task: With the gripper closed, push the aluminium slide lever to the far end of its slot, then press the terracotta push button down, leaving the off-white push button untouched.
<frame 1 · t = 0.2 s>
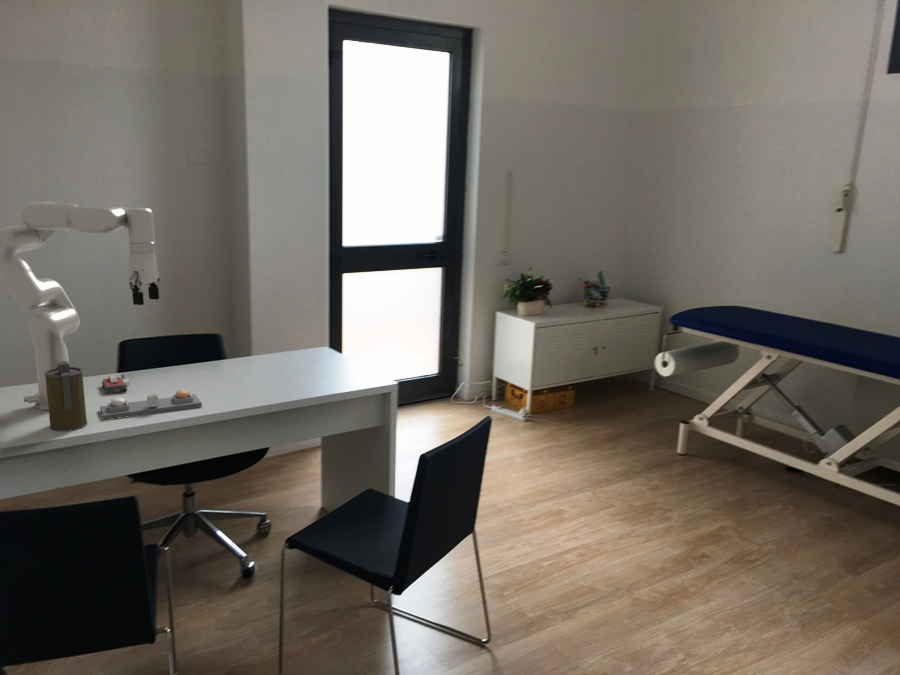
hand: (146, 301, 234), 36 cm above the table, tool pointing down, fingers open, 9 cm apart
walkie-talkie: (116, 387, 266), on the table
panel: (151, 408, 244), on the table
lever: (152, 400, 241), point 4 cm above the table, slide at 0.0 cm
button left: (118, 402, 238), point 4 cm above the table, slide at 0.0 cm
button right: (182, 394, 248), point 4 cm above the table, slide at 0.0 cm
canister: (68, 426, 226), on the table
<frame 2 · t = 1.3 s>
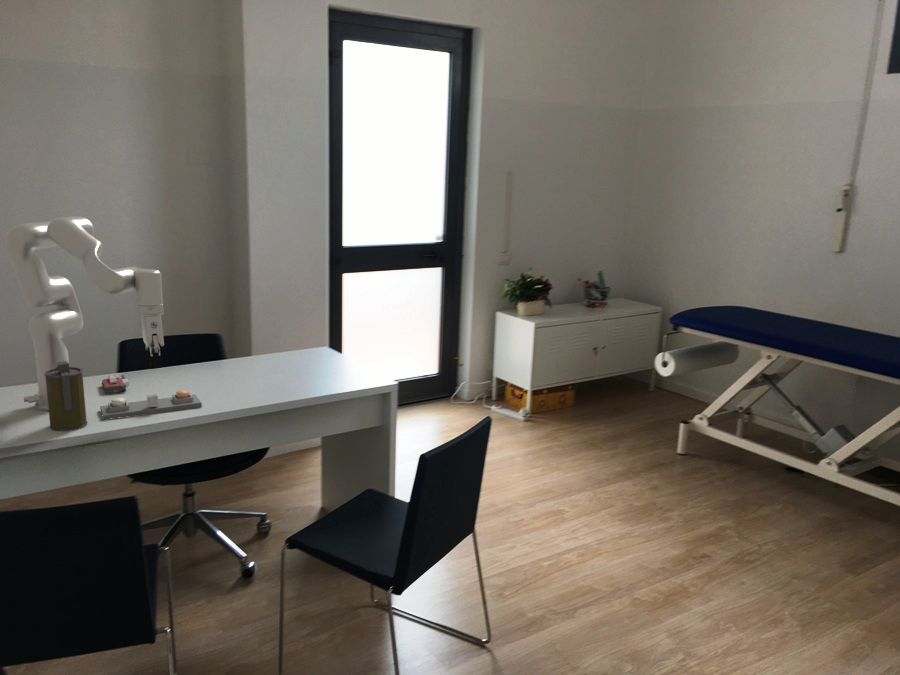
hand: (153, 364, 232), 18 cm above the table, tool pointing down, fingers open, 6 cm apart
nothing on the table moved.
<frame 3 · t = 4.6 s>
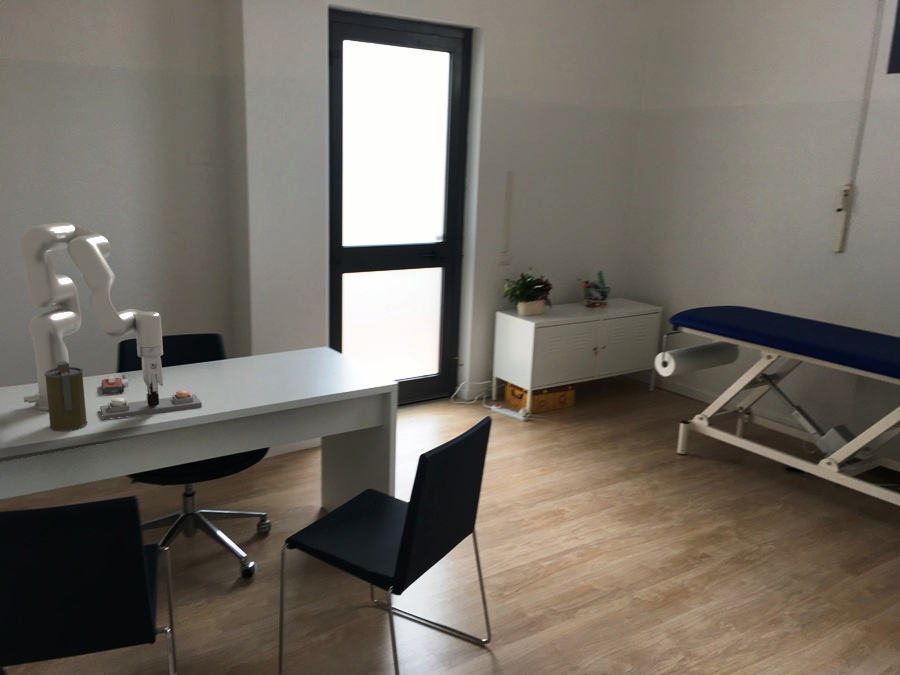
hand: (153, 404, 239), 3 cm above the table, tool pointing down, fingers closed
lever: (151, 399, 242), point 4 cm above the table, slide at 1.4 cm, touching gripper
everything else where it was.
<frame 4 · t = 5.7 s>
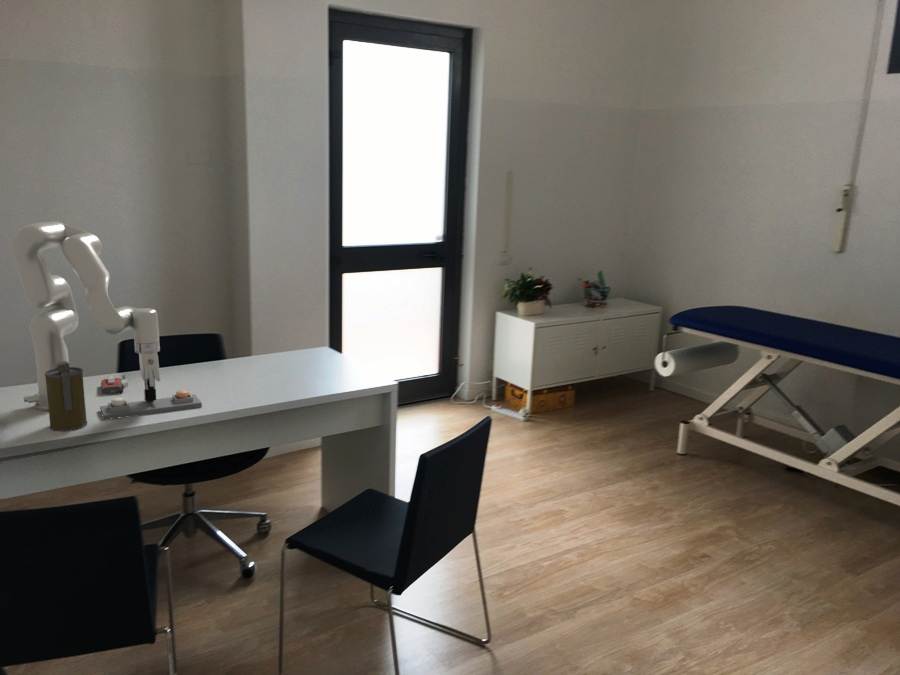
hand: (150, 400, 244), 3 cm above the table, tool pointing down, fingers closed
lever: (149, 395, 246), point 4 cm above the table, slide at 6.6 cm, touching gripper
everything else where it was.
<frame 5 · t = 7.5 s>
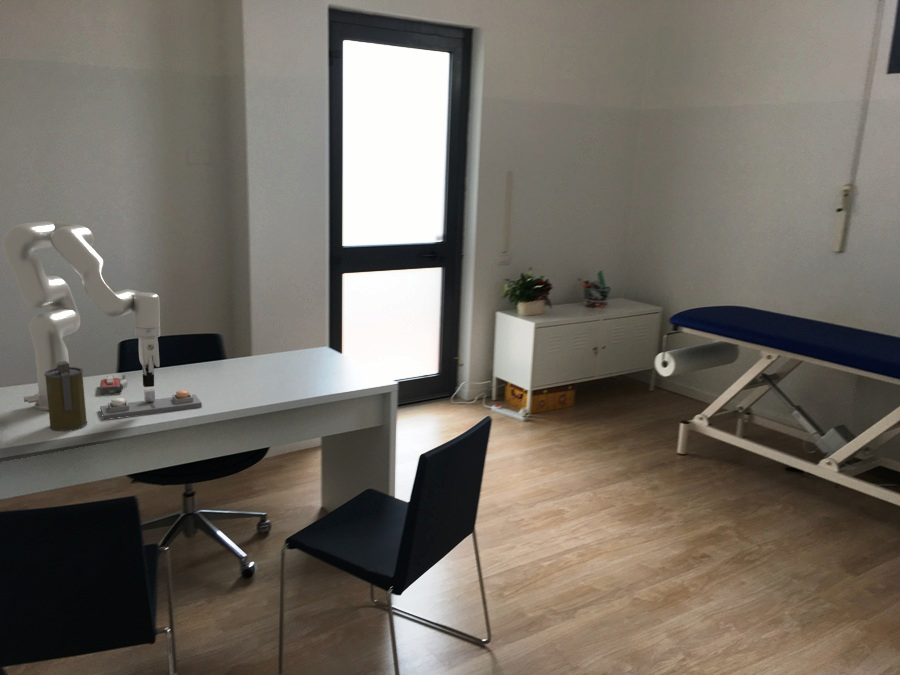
hand: (148, 385, 240), 9 cm above the table, tool pointing down, fingers closed
lever: (149, 395, 246), point 4 cm above the table, slide at 6.1 cm
everything else where it was.
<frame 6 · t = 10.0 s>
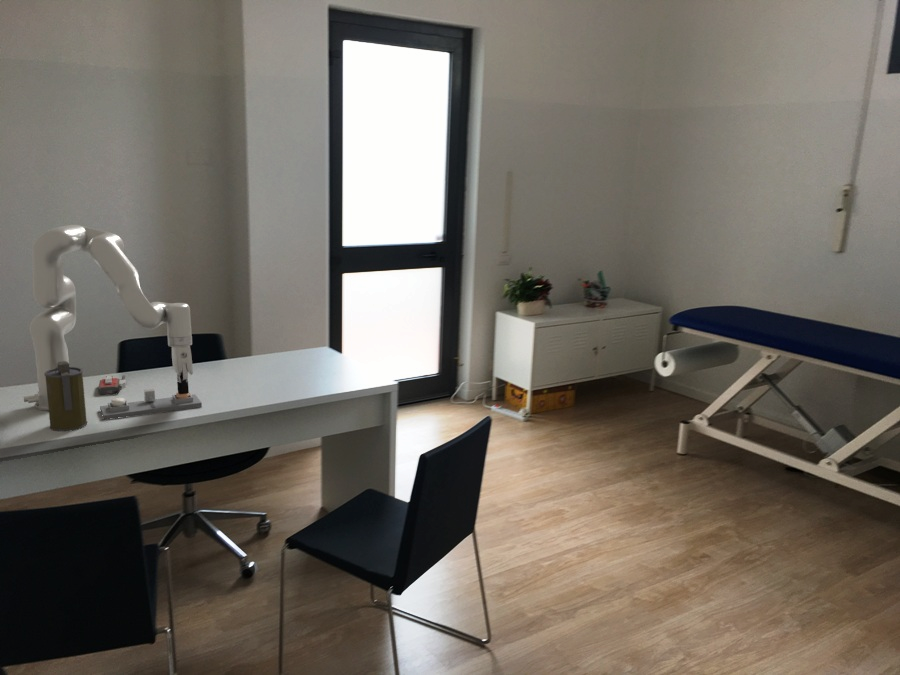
hand: (183, 393, 248), 4 cm above the table, tool pointing down, fingers closed
button right: (182, 395, 248), point 3 cm above the table, slide at 0.5 cm, touching gripper
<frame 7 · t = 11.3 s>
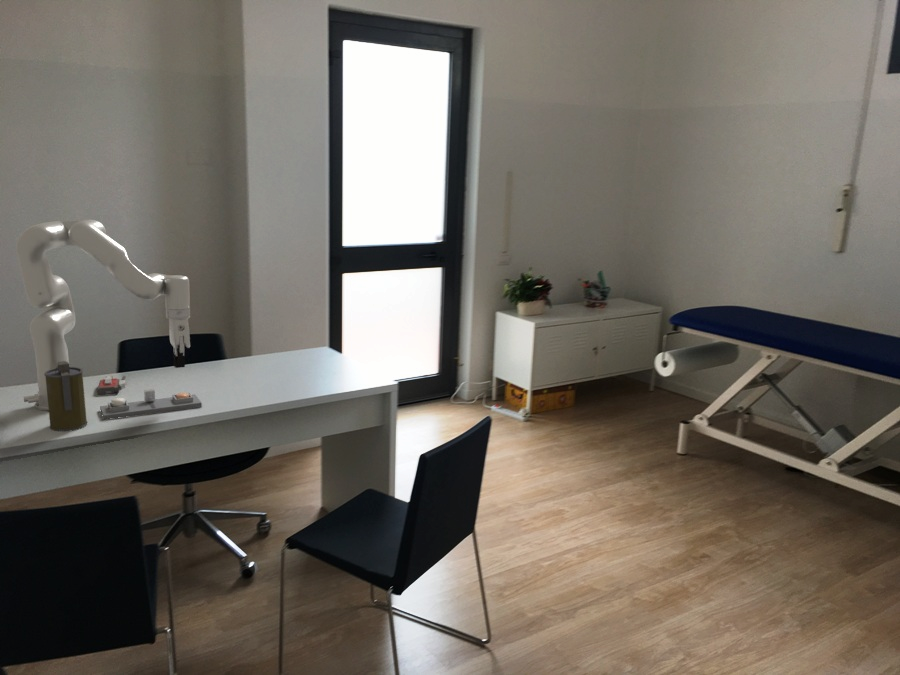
hand: (179, 366, 246), 13 cm above the table, tool pointing down, fingers closed
button right: (182, 397, 248), point 3 cm above the table, slide at 1.0 cm
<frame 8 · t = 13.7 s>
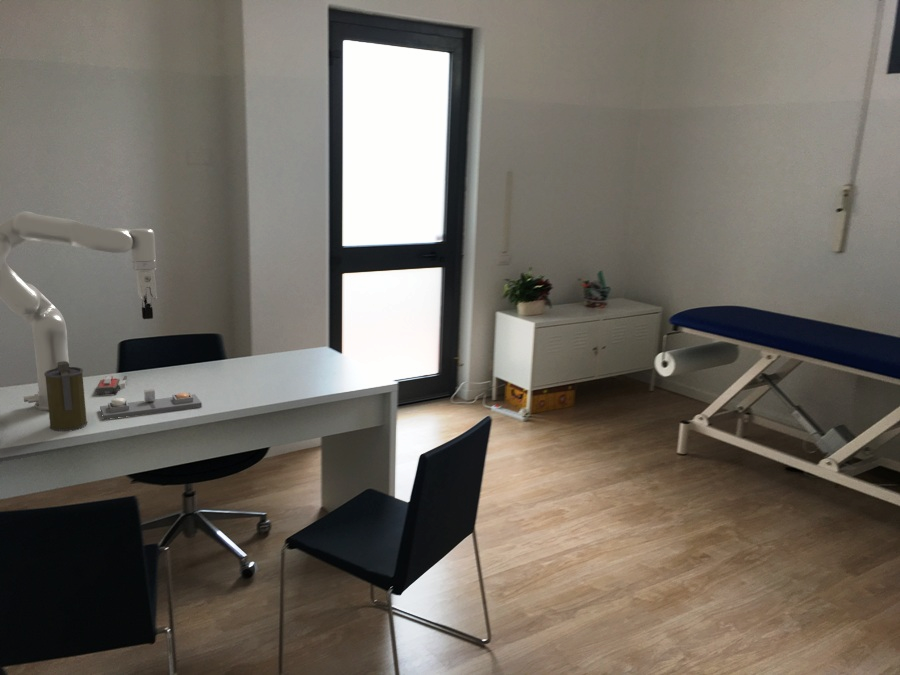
hand: (147, 318, 253), 27 cm above the table, tool pointing down, fingers closed
at the end: lever slide at 6.1 cm; button right slide at 1.0 cm; button left slide at 0.0 cm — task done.
